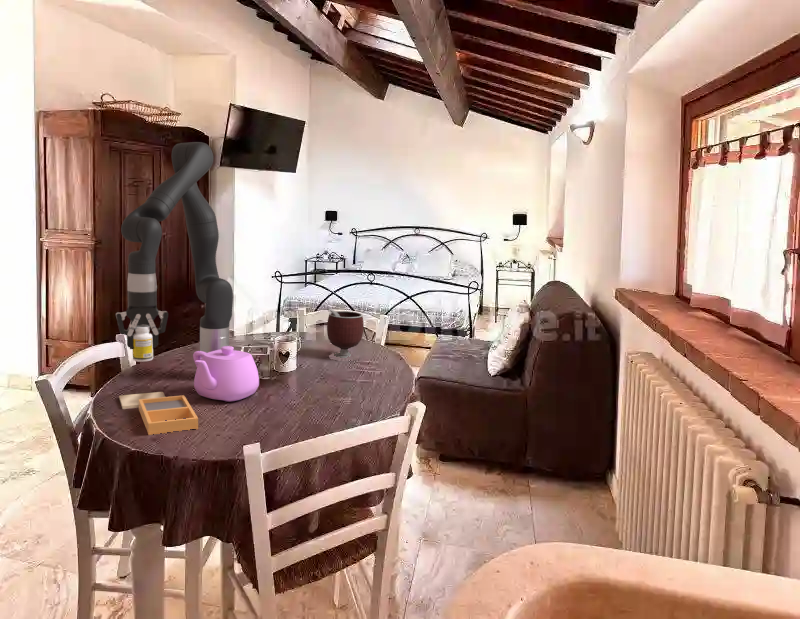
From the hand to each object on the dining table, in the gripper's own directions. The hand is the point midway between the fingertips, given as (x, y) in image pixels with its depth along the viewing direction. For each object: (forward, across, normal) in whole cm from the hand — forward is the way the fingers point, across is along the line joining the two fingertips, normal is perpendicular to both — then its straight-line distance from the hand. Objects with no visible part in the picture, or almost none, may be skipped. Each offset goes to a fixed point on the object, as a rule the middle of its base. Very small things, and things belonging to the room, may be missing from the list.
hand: (142, 347), depth 180 cm
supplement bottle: (+4, 0, 0) cm, 4 cm away
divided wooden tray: (+16, -4, +17) cm, 24 cm away
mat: (+16, 0, 0) cm, 16 cm away
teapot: (+16, -23, +2) cm, 28 cm away
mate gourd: (+16, -75, -30) cm, 82 cm away
